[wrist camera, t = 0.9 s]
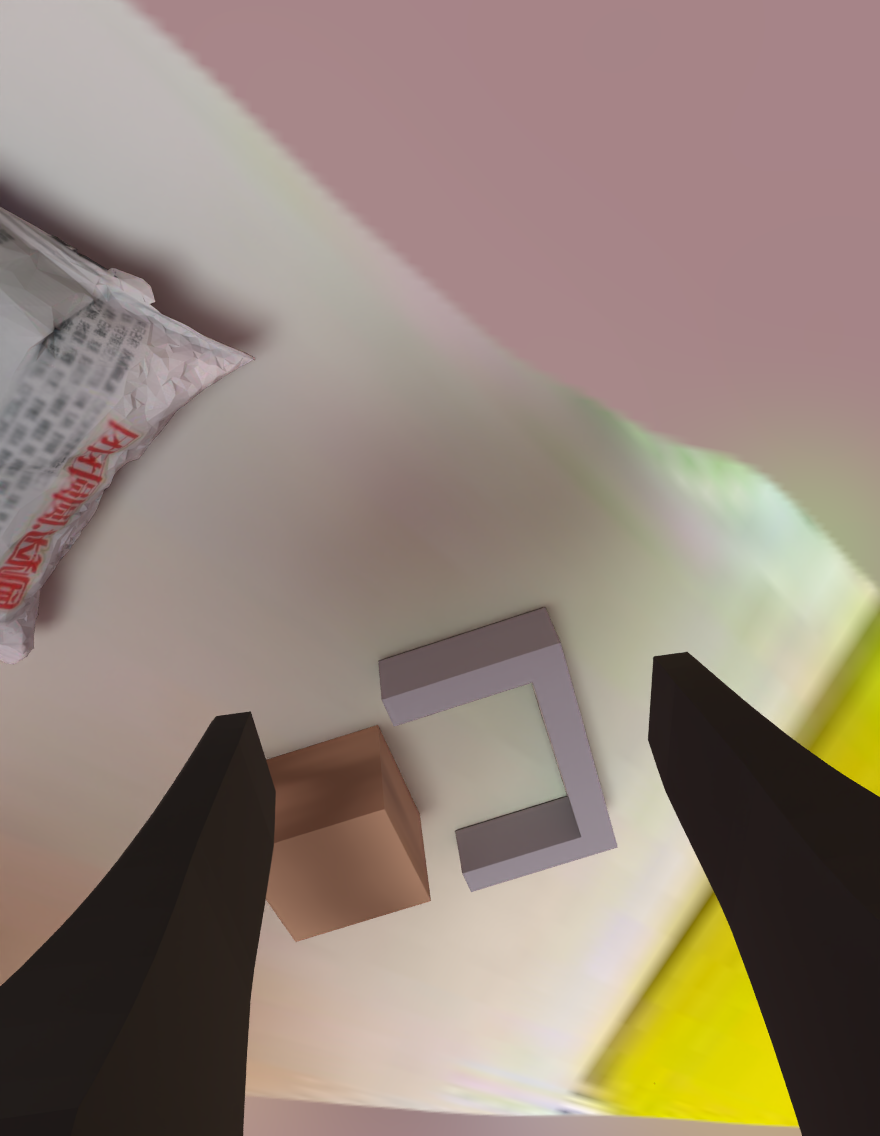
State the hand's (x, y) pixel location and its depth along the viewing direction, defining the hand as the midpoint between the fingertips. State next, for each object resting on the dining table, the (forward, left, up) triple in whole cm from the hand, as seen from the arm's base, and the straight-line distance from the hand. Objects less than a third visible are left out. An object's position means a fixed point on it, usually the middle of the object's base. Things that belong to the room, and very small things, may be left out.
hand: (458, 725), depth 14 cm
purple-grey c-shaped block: (0, -11, -10) cm, 15 cm away
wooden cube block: (-6, -11, -11) cm, 17 cm away
